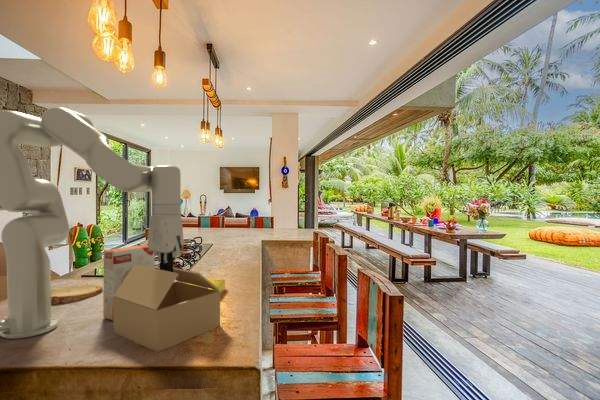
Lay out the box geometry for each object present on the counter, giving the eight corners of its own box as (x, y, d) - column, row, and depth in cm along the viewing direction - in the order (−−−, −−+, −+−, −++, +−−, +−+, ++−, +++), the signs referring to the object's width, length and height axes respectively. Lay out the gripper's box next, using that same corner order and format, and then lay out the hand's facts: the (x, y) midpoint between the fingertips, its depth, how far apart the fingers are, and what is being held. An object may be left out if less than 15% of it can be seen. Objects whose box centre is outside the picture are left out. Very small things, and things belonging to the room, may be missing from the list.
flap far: (177, 280, 111) (178, 279, 111) (218, 290, 100) (219, 289, 100) (155, 265, 104) (156, 263, 104) (197, 274, 94) (198, 272, 94)
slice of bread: (106, 289, 137) (106, 280, 137) (87, 304, 119) (87, 293, 119) (56, 292, 134) (55, 282, 134) (28, 307, 116) (28, 296, 116)
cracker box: (113, 322, 102) (113, 251, 102) (102, 318, 106) (101, 249, 105) (155, 308, 114) (155, 245, 114) (144, 305, 117) (144, 243, 117)
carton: (157, 352, 83) (157, 311, 83) (113, 332, 95) (113, 296, 94) (220, 325, 100) (220, 291, 100) (176, 311, 111) (176, 280, 111)
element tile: (175, 301, 124) (174, 287, 124) (188, 289, 139) (188, 277, 138) (217, 301, 124) (217, 287, 124) (226, 289, 139) (226, 277, 139)
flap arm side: (156, 310, 83) (154, 309, 83) (114, 296, 94) (113, 295, 94) (178, 274, 88) (177, 273, 88) (136, 264, 99) (135, 264, 99)
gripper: (138, 210, 97) (138, 275, 98) (171, 212, 89) (171, 283, 89) (161, 209, 103) (162, 270, 104) (195, 210, 95) (195, 277, 95)
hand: (166, 276), depth 97 cm, fingers closed
